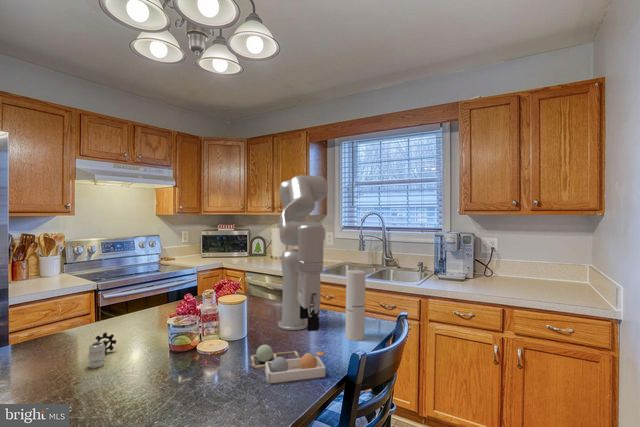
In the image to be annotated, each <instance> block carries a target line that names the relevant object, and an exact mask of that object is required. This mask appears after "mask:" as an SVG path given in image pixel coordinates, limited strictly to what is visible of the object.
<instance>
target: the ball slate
mask: <svg viewBox="0 0 640 427" xmlns="http://www.w3.org/2000/svg"><path fill="white" fill-rule="evenodd" d="M276 357H277V358H275V359H274V358H273V360H271V361H272V363H271V371H272V373H275V372H284V371H287V370H288V362H287V359H286V358H284V357H283V356H276Z"/></svg>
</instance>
